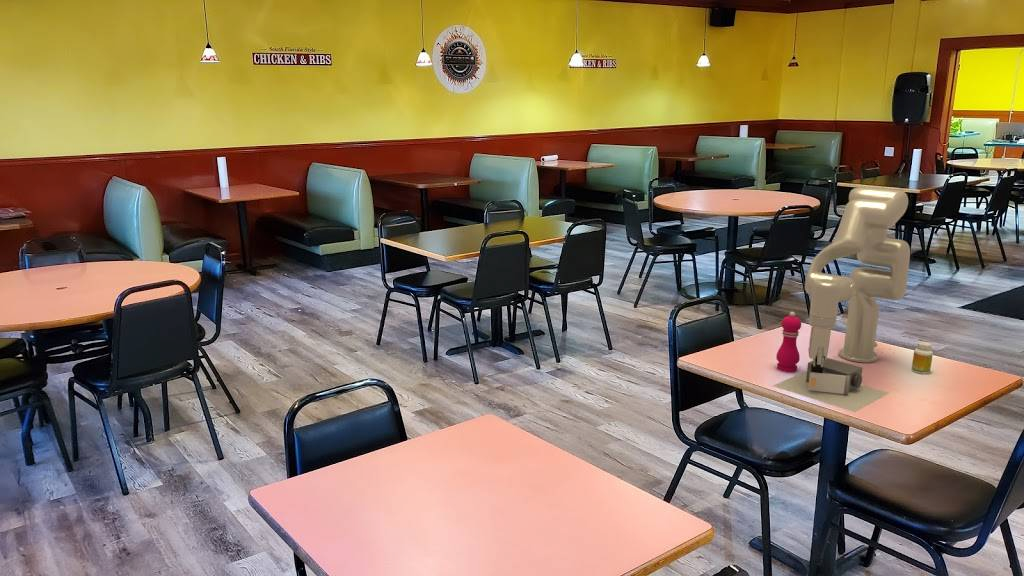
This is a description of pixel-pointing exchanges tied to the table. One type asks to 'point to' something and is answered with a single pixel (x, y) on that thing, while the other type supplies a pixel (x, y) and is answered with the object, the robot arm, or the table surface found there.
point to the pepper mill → (789, 344)
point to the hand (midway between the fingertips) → (816, 377)
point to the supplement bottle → (922, 358)
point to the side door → (829, 383)
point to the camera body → (840, 371)
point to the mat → (849, 402)
